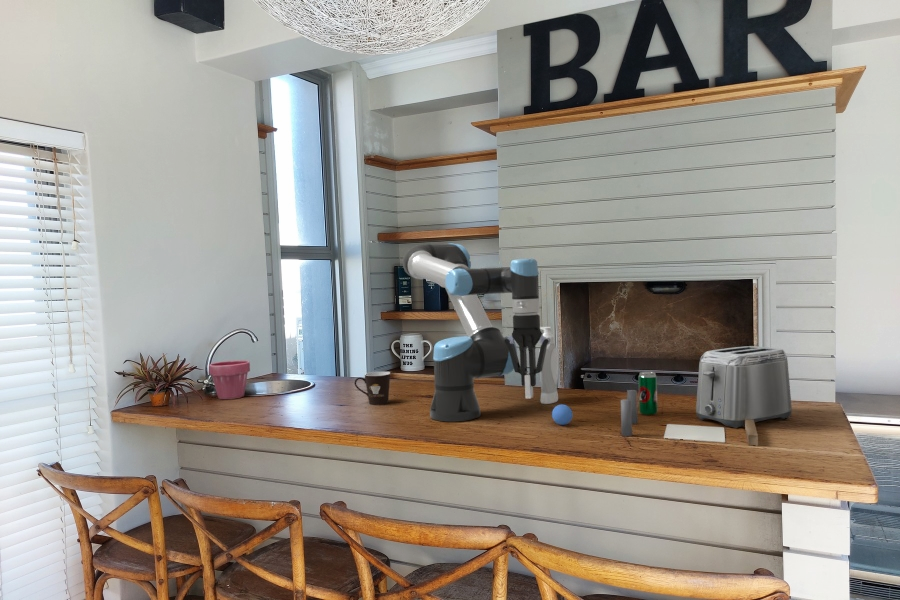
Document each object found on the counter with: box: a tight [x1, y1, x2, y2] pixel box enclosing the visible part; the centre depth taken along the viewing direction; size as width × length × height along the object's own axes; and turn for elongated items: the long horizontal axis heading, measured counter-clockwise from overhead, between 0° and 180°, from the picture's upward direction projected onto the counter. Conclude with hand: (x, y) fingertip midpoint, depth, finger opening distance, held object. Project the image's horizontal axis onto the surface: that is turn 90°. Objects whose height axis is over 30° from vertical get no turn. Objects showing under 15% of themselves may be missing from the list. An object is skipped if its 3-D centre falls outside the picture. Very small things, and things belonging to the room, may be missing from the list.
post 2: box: [626, 389, 639, 425], centre depth 169 cm, size 3×3×9 cm
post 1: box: [620, 398, 633, 437], centre depth 157 cm, size 3×3×9 cm
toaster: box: [695, 345, 793, 429], centre depth 170 cm, size 17×30×19 cm, turn 113°
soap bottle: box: [537, 326, 559, 405], centre depth 201 cm, size 13×8×24 cm, turn 151°
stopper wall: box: [744, 419, 759, 447], centre depth 152 cm, size 2×16×2 cm, turn 157°
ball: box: [551, 403, 574, 426], centre depth 170 cm, size 6×6×6 cm
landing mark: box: [663, 423, 726, 444], centre depth 157 cm, size 14×14×1 cm
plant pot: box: [208, 360, 251, 400], centre depth 228 cm, size 14×14×13 cm
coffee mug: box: [354, 371, 391, 406], centre depth 208 cm, size 12×9×10 cm
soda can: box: [637, 371, 658, 416], centre depth 179 cm, size 5×5×12 cm
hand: (529, 397), depth 173 cm, fingers closed
